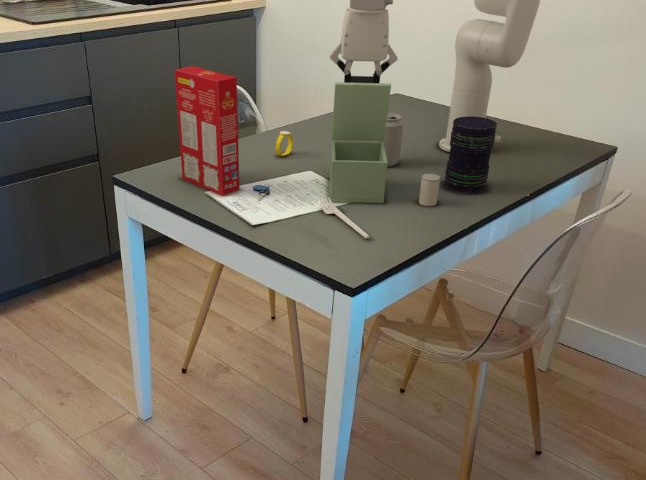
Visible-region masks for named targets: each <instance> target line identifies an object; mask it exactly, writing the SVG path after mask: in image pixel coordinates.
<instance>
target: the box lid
mask: <svg viewBox="0 0 646 480" xmlns="http://www.w3.org/2000/svg"><path fill="white" fill-rule="evenodd" d="M391 90H392V83H381V82H380V83H374V76H373V75H371V76H370V75H351V83H344V82H337V81H336V82H334V94H333V110H332V127H331V129H332V130H331V141H344V142H372V141H384V135H385V128H386V120H387V113H389V112H388V111H389V105H390V97H391Z"/></svg>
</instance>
